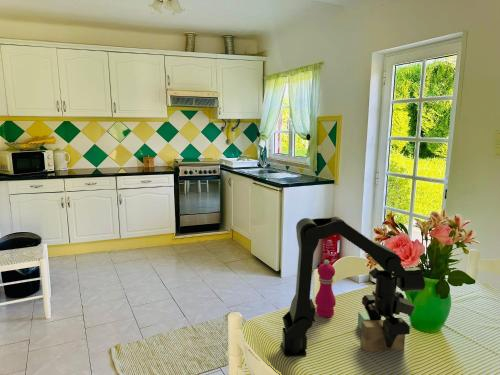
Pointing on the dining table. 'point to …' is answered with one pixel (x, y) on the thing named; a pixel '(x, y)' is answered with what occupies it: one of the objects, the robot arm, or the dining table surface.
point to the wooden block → (378, 337)
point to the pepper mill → (325, 290)
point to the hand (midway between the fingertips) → (382, 339)
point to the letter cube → (362, 318)
